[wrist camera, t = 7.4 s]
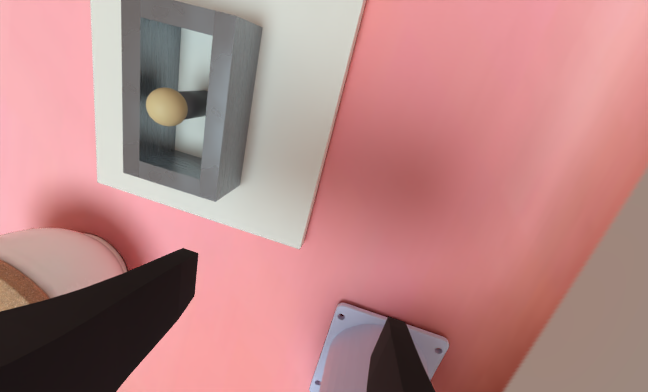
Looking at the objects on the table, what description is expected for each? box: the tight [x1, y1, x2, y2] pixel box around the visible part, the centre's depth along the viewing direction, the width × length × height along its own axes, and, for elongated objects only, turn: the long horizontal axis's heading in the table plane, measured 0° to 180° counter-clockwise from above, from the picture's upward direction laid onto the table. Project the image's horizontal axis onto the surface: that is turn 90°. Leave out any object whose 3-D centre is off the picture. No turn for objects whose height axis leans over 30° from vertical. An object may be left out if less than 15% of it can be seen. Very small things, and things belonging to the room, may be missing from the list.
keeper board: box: [90, 0, 366, 249], centre depth 17 cm, size 15×15×5 cm
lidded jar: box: [0, 228, 128, 311], centre depth 22 cm, size 11×11×9 cm
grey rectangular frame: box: [121, 0, 263, 202], centre depth 17 cm, size 9×6×3 cm, turn 167°
